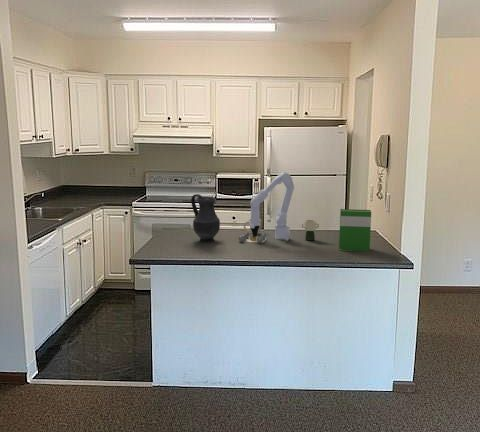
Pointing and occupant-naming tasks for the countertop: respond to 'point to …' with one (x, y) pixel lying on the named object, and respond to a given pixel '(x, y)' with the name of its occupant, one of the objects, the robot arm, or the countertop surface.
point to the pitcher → (205, 218)
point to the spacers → (246, 236)
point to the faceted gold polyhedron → (253, 238)
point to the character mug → (310, 229)
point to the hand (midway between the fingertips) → (254, 237)
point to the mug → (250, 226)
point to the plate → (252, 241)
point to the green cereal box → (355, 229)
